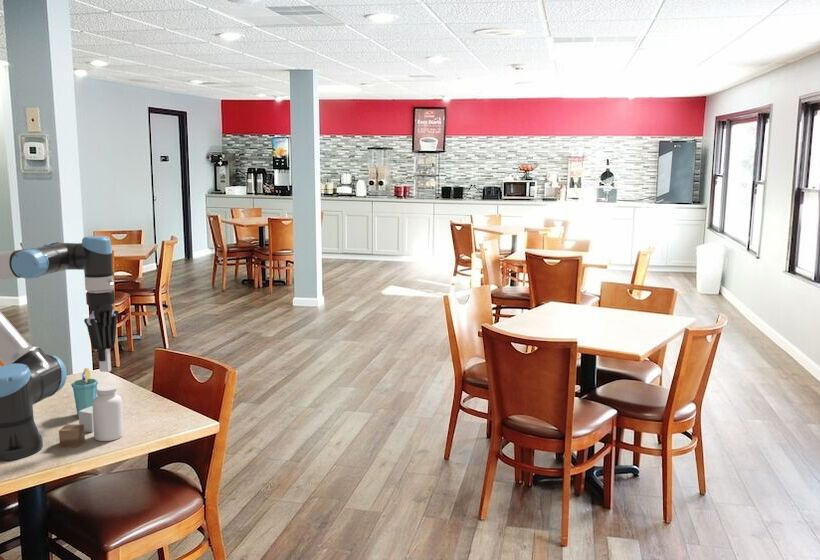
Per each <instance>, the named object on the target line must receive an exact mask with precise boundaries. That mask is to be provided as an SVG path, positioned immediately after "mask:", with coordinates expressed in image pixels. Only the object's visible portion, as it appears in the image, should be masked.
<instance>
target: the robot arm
mask: <svg viewBox="0 0 820 560" xmlns="http://www.w3.org/2000/svg"><path fill="white" fill-rule="evenodd" d="M67 270H68V271H69V270H79V271H81V270H82V271H83V272H84V273H83V275H84V286H85V287H84V288H85V290H86V291H87V292H86V293H85V298H86V299H85V300H86V302H85V303H86V305H87V306H88V307H90V309H89V317H88V318H85V319H84V320H83V321H84V324H85V326H86V327H87V332H88V335H89V340H90V344H91V348H92V350H94V351H95V350H96V351H97V356H98V357H97V358H98V365H99V372H104V373H109V372H111V371H112V361H111V359H112V358H111V357H112V355H111V352H112V351H111V349H113V348H115V346H114V345H115V344H116V336H117V324H118V323H117V322H118V317H119V312H120V311H119V310H115V309H114V307H113V305H114V304H115V303H116V294H115V291H114V288H115V283H114V282H115V281H114V272H113V271H114V269H113V249H112V242H111V238H110V237H109V236H106V235H88V236H83V237H82V240H81V243H77V242H76V243H74V242H72V243H71V242H70V243H69V242H60V241H58V242H56V241H55V242H48V243H45V244H44V245H43V246H41V247H34V248H26V249H17V250H6V251H0V281H3V280H13V279H21V278H22V279H26V280H27V279H28V280H29V279H35V278H39V277H41V276H46V275H49V274H54V273H58V272H63V271H67ZM0 362H1V363H2V364H3V365H0V462H3V461H5V462H6V461H12V460H13V461H14V460H17V459H22V458H25V457H29V456H32V455H34V454H35V453H37V452H39V451H40V450H41V449H43V447H44V443H43V442H44V441H43V437H42V435H41V434H40V432H39V430H38V426H37V425H36V422H35V418H34V405H35V404H37V403H39V402H41V401H43V400H45V399H47V398H49V397H52V396H54V395H55V394H56V393H57V392H59V391H61V390H62V388H63V387H64V386H65V384H66V381H67V367H66V365H65V363H64V362H63V361H62V359H61V358H59V357H58V356H57V355H55V354H54V355H52V354H46V353H45V352H44V351H43V350H42V348H41V347H39V346H34V345H33V346H32V345H31V344H30V343H29V342H28V341H27V340H26V339H25V337H24V336H22V334H21V333H20V332H19V331H18V330H17V329H16V327H14V325H13V323H11V322H10V320H9V319H8V318H7V317H6V316H5V315H4V314H3V312H2V310H0Z"/></svg>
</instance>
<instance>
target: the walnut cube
mask: <svg viewBox="0 0 820 560" xmlns="http://www.w3.org/2000/svg"><path fill="white" fill-rule="evenodd" d="M58 436H59V437H58V438H59V448H80V446H81V445H82V444H83V443H84V442H85V441H86V439H85V436H86V435H85V431H84V424H77V423H75V424H73V423H72V424H71V423H70V424H65V425H64V426H62V427H61V428H60V429H59V430H58Z"/></svg>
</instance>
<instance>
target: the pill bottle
mask: <svg viewBox="0 0 820 560" xmlns="http://www.w3.org/2000/svg"><path fill="white" fill-rule="evenodd" d="M92 404H93V423H94V432H93V436H94V439H95V441H100V442H109V441H110V442H111V441H115V440H118V439H120V438H122V437H123V435H124V420H123V418H124V417H123V399H122V396H120V395H119V394H117V387H116V385H112V384H111V385H110V384H107V385H100V386H97V394H96V397H95V398H94V400H93V403H92Z"/></svg>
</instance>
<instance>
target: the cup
mask: <svg viewBox="0 0 820 560" xmlns="http://www.w3.org/2000/svg"><path fill="white" fill-rule="evenodd" d="M81 377H82V379H77V380H75V381H73V382H72V383H71V384H70V385H71V387H72V390H73V391H72V392H73V396H74V402H75V407H76V414H77V416H78V417H79V413H78V411H80V410H83V409H85V408H88V407H90V406H93V404H92V403H93V400H94V398H95V397H97V388H98V384H99V381H98V380H97V379H94V378H91V372H90V369H89V368H87V367H86V368H84V369H83V372H82V375H81Z"/></svg>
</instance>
